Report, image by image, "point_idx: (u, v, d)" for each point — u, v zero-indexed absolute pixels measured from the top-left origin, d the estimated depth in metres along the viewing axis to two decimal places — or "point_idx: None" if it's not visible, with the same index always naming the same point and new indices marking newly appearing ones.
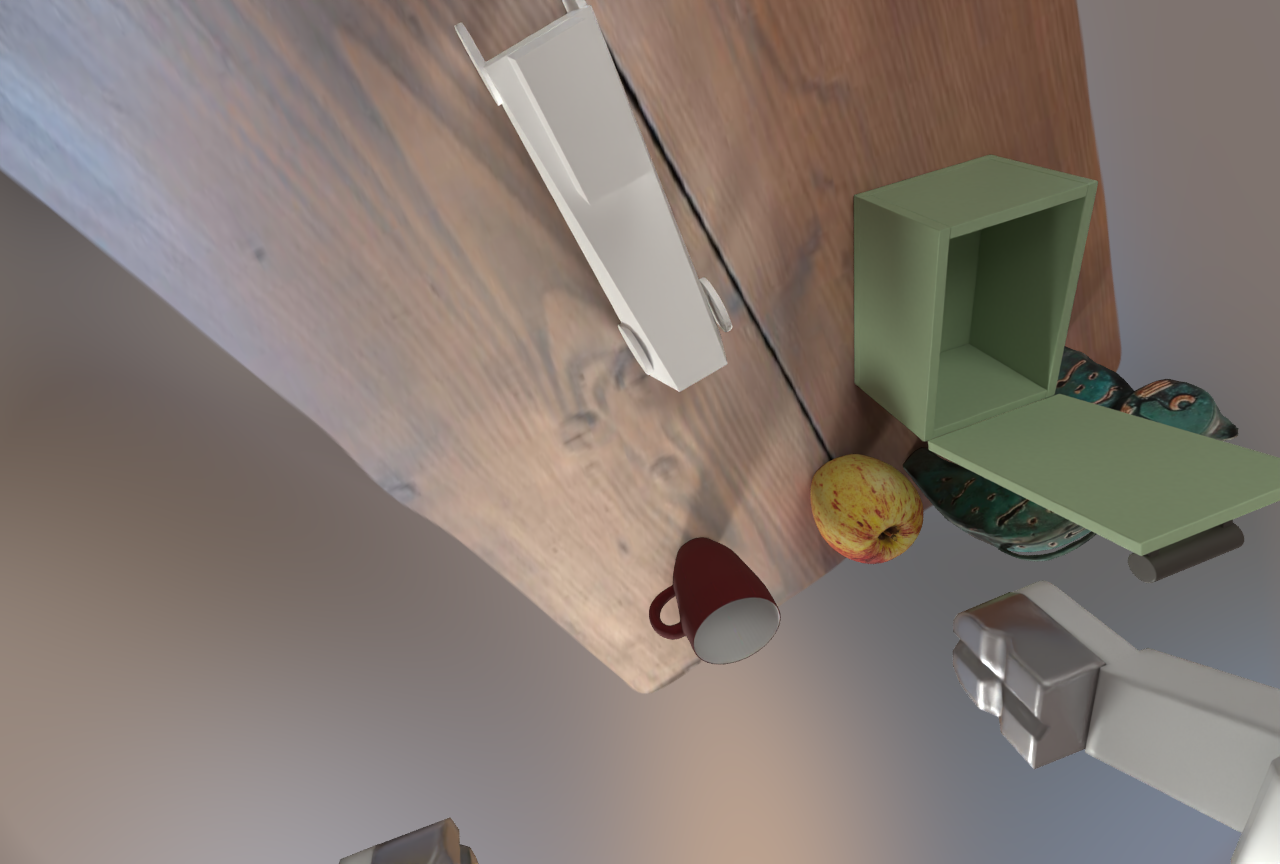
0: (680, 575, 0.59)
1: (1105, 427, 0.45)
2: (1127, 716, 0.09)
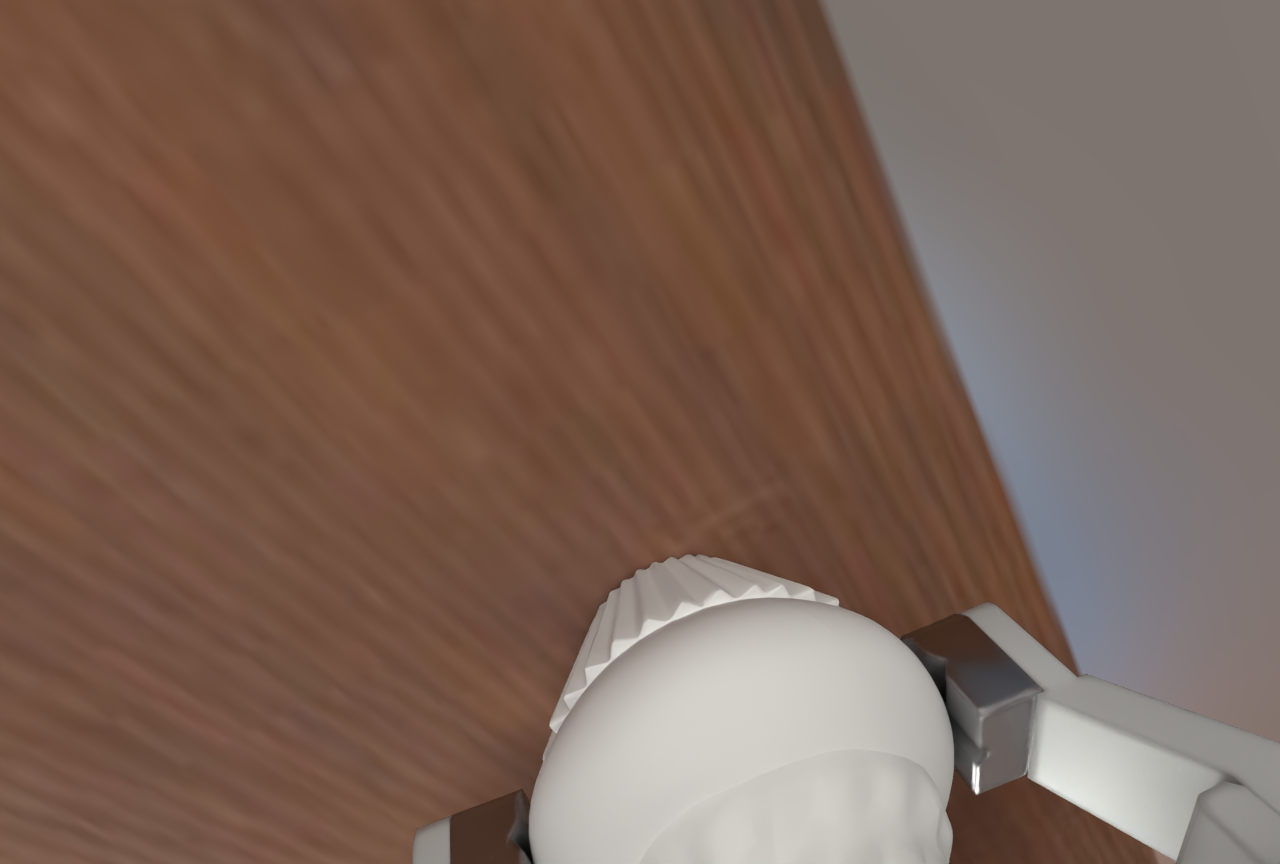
0: None
1: None
2: (1065, 743, 0.09)
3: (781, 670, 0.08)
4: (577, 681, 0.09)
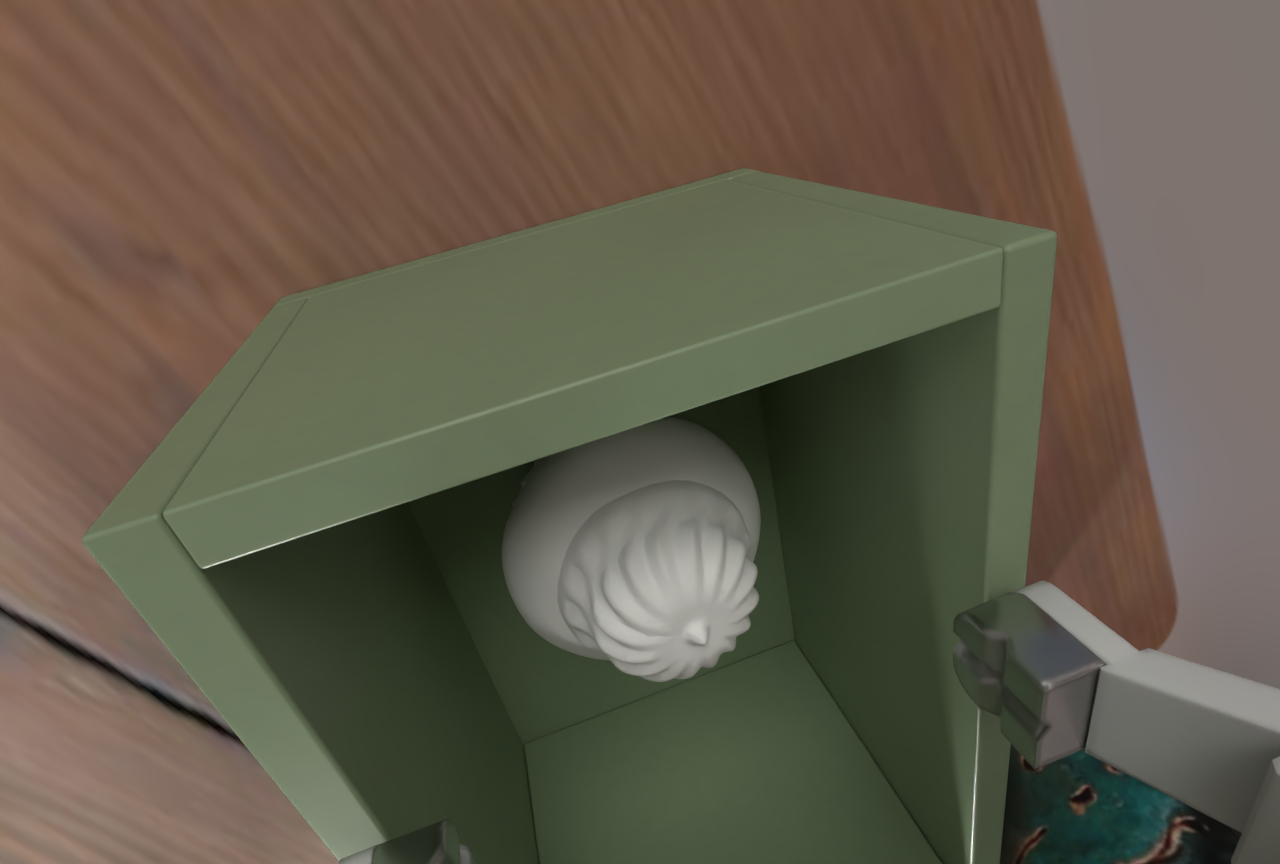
0: None
1: None
2: (1127, 716, 0.09)
3: (647, 438, 0.14)
4: (529, 477, 0.15)
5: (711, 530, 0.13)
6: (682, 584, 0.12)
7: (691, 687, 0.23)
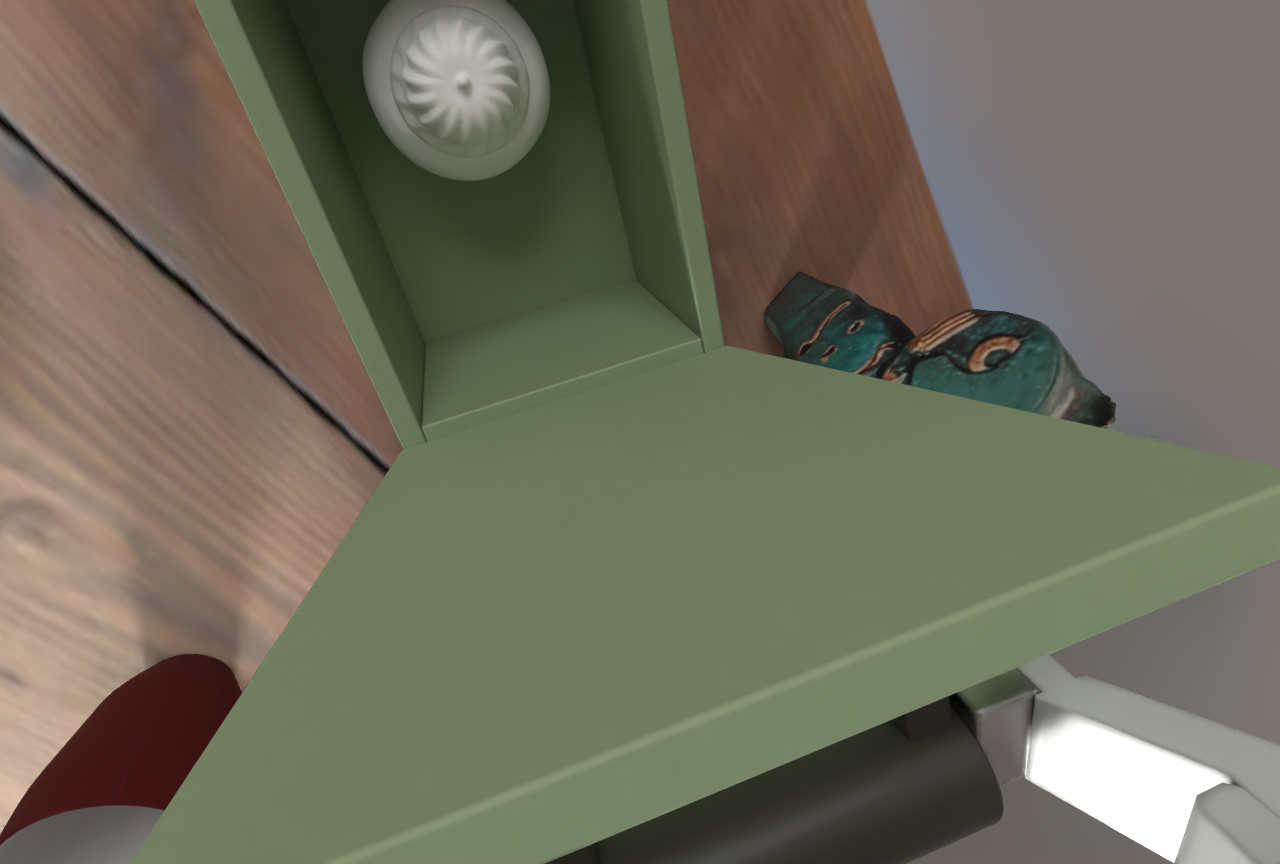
0: None
1: (721, 393, 0.16)
2: (1063, 744, 0.09)
3: None
4: None
5: (480, 26, 0.20)
6: (449, 41, 0.20)
7: (553, 305, 0.30)
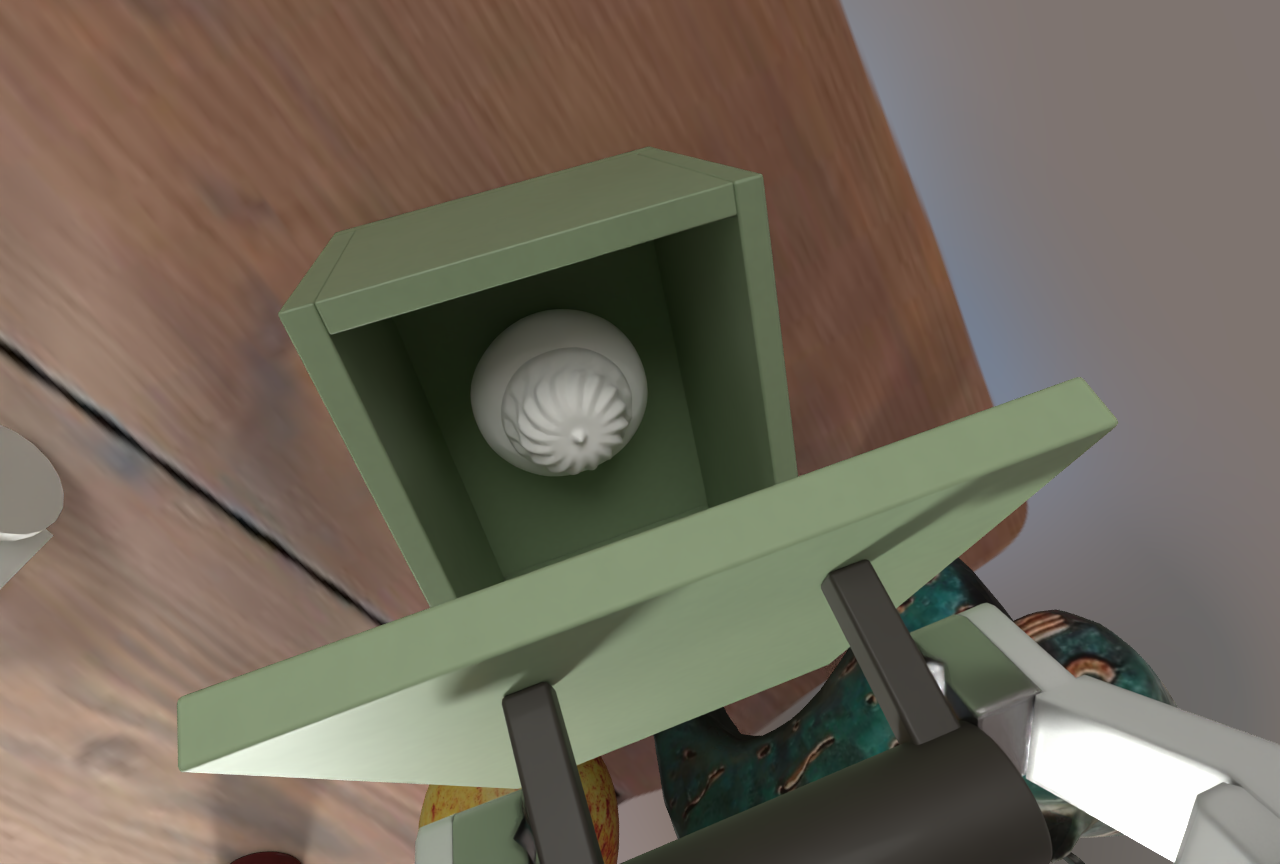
0: None
1: None
2: (1064, 744, 0.09)
3: (561, 320, 0.21)
4: None
5: (594, 376, 0.21)
6: (568, 403, 0.20)
7: (628, 536, 0.31)
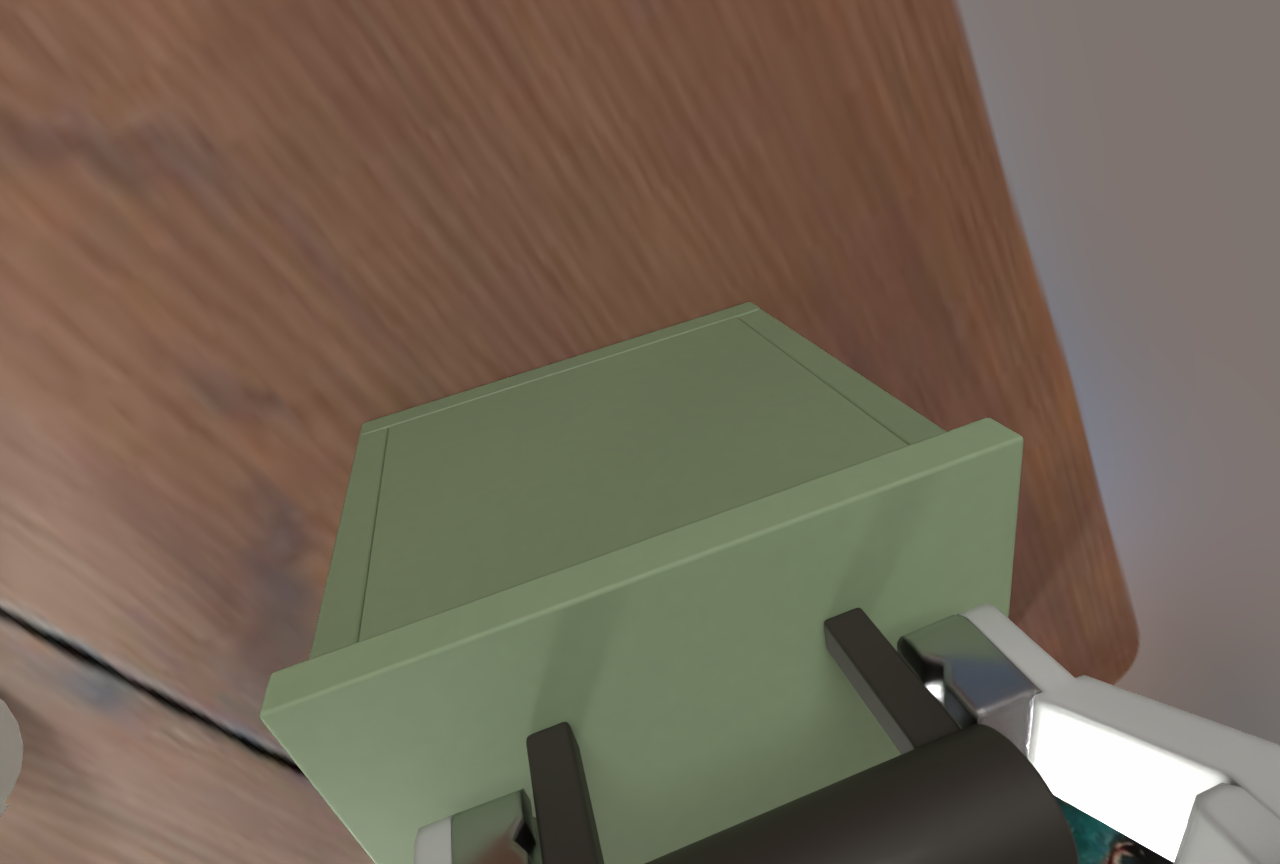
0: None
1: None
2: (1062, 744, 0.09)
3: None
4: None
5: None
6: None
7: None
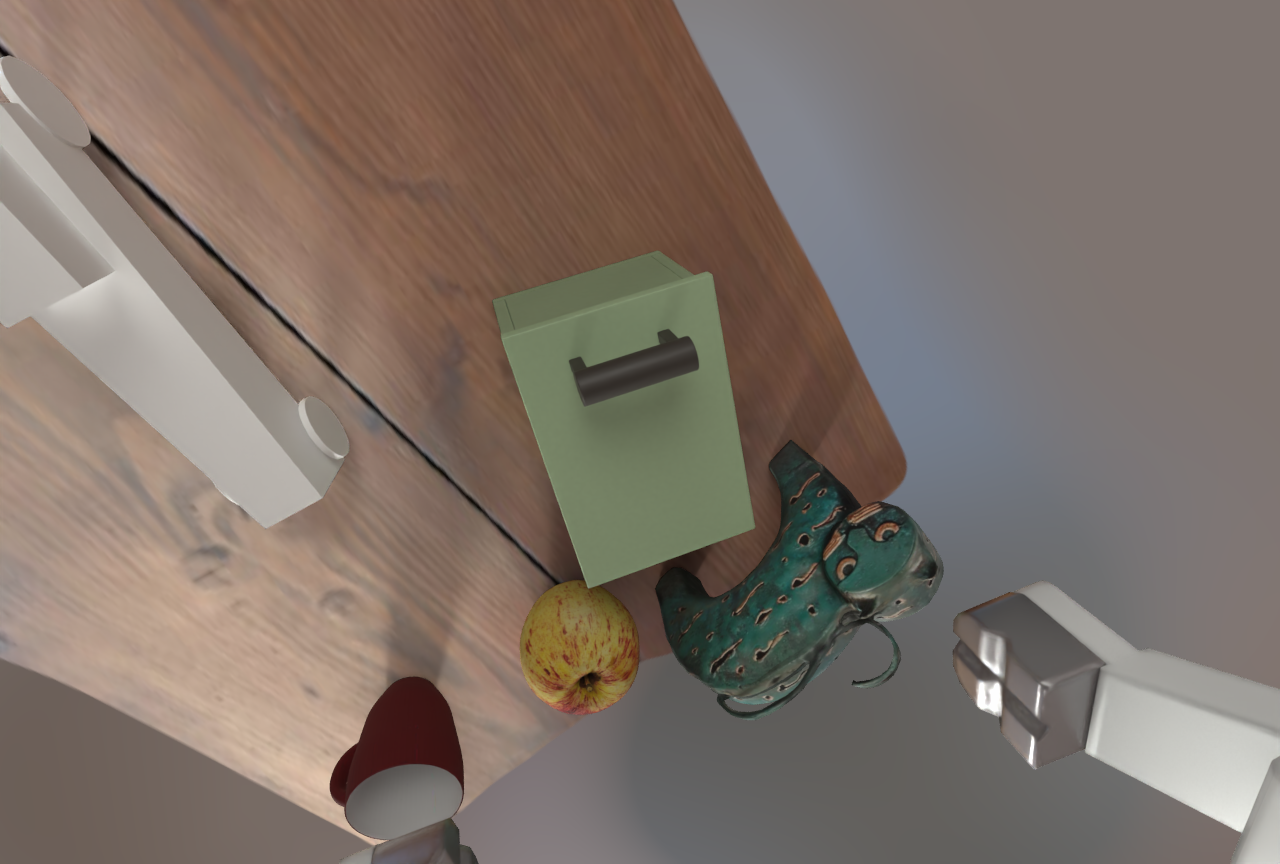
0: None
1: None
2: (1127, 716, 0.09)
3: None
4: None
5: None
6: None
7: None
